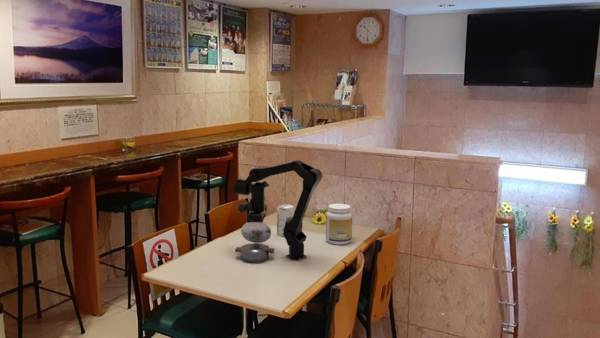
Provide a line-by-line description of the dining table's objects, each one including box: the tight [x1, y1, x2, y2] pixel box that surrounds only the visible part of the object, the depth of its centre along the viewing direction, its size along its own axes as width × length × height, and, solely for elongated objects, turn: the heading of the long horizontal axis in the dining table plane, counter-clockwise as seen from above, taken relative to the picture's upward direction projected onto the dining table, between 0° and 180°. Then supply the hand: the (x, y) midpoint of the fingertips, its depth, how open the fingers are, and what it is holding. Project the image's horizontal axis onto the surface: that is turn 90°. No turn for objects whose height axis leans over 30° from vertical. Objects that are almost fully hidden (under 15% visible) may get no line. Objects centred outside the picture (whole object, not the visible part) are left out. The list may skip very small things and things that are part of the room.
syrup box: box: [276, 203, 295, 238], centre depth 240 cm, size 6×6×14 cm
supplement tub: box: [325, 203, 353, 246], centre depth 231 cm, size 12×12×17 cm
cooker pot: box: [235, 242, 275, 264], centre depth 209 cm, size 13×14×4 cm
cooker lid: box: [240, 221, 272, 244], centre depth 211 cm, size 13×13×3 cm
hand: (257, 231), depth 216 cm, fingers closed
